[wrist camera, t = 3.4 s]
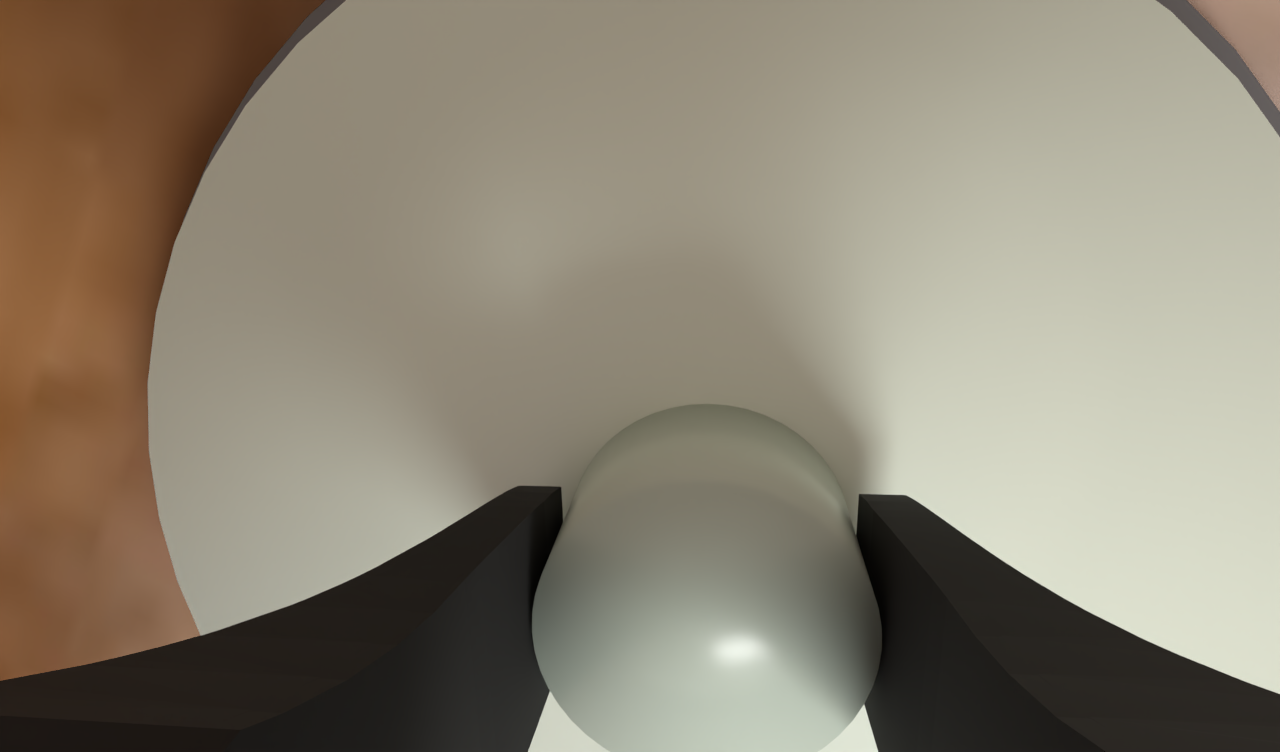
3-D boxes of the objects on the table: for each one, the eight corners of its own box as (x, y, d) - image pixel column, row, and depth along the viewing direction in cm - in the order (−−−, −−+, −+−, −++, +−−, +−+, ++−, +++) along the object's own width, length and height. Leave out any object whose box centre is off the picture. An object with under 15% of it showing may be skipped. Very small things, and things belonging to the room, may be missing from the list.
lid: (273, 889, 16) (160, 1079, 13) (72, -85, 11) (-200, -172, 8) (1197, 965, 14) (1333, 1209, 11) (1480, -163, 9) (1887, -318, 6)
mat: (268, 884, 16) (257, 902, 16) (59, -117, 11) (34, -126, 11) (1210, 961, 15) (1223, 983, 14) (1508, -204, 9) (1542, -218, 9)
